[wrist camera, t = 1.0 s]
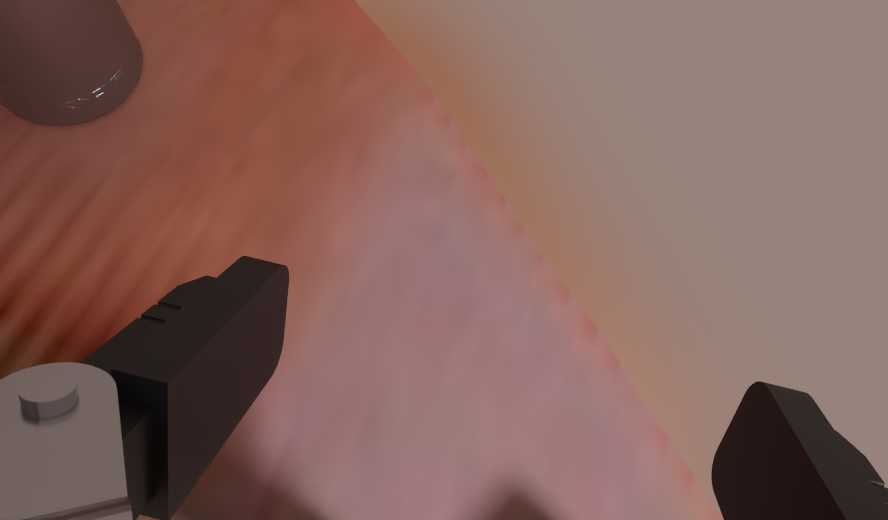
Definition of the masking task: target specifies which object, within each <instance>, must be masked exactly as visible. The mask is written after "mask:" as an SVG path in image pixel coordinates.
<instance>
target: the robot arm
mask: <svg viewBox="0 0 888 520" xmlns="http://www.w3.org/2000/svg"><path fill="white" fill-rule="evenodd" d="M142 58H143V55H142V51H141V47H140V43H139V41H138V39H137V38H136V36H135V34H134V32H133V30H132V28H131V26H130V24H129V23H128V21H127V19H126V17H125V15H124V13H123V11H122V9H121V8H120V6H119V4H118V2H117V0H0V102H1V103H2V104H3V105H4V106H5V107H6V108H8V109H9V110H10V111H12V112H13V113H14V114H16V115H17V116H19V117H22V118H24V119H26V120H28V121H31V122H35V123H40V124H44V125H60V126H63V125H71V124H79V123H82V122H86V121H89V120H92V119H95V118H97V117H99V116H101V115H103V114H105V113H107V112H109V111H111V110H112V109H114V108H115V107H116V106H118V105H119V104H120V103H122V102H123V101H124V99H125V98H126V97H127V96H128V95H129V94H130V93H131V92H132V90H133V88H134V87H135V85H136V83H137V82H138V80H139V77H140V73H141V70H142ZM288 286H289V271H288V268H287V266H285V265H281V264H277V263H273V262H269V261H264V260H260V259H256V258H252V257H248V256H242V257H241V258H239V259H238V260H237V261H236V262H234V263H233V264H232V265H231V266H230V267H229V268H228V269H226V270H225V271H224V272H223V273H222V274H221V275H219V276H218V277H217V278H215V277H210V276H203V277H201V278H198V279H195V280H193V281H190V282H187V283H184V284H182V285H179V286H177V287H176V288H175V289H173V290H172V291H171V292H169V293H168V294H167V295H166V296H164V297H163V298H162V299H161V300H159V301H158V304H157V305H153V306H152V307H151V308H149V309H148V310H147V311H145V312H144V313H143V314H142V316H141V318H137V319H135V320H134V321H133V322H132V323H130V324H129V325H128V326H126V327H125V328H124V329H123V330H121V331H120V332H119V333H118V334H116V335H115V336H114V337H113V338H111V339H110V340H109V341H107V342H106V343H105V344H104V345H102V346H101V347H100V348H99V349H97V350H96V351H95V352H94V353H92V354H91V355H90V356H88V357H87V358H86V359H85V360H83V361H82V362H81V363H66V362H62V363H50V364H44V365H38V366H34V367H30V368H27V369H24V370H21V371H18V372H15V373H13V374H11V375H9V376H6V377H5V378H3V379H1V380H0V520H136V519H137V518H138V516H139V515H140V514H141V515H145V516H148V517H152V518H156V519H159V520H170V519H171V517H172V516H173V515H174V513H175V512H176V510H177V509H178V508H179V506H180V505H181V503H182V502H183V500H184V499H185V498H186V496H187V495H188V493H189V492H190V491H191V489H192V488H193V486H194V485H195V484H196V482H197V481H198V479H199V478H200V477H201V475H202V474H203V472H204V471H205V470H206V468H207V467H208V465H209V464H210V462H211V461H212V460H213V458H214V457H215V455H216V454H217V453H218V451H219V450H220V448H221V447H222V446H223V444H224V443H225V441H226V440H227V439H228V437H229V436H230V434H231V433H232V432H233V430H234V429H235V427H236V426H237V425H238V423H239V422H240V420H241V419H242V417H243V416H244V415H245V413H246V412H247V410H248V409H249V408H250V406H251V405H252V403H253V402H254V401H255V399H256V398H257V396H258V395H259V394H260V392H261V391H262V389H263V388H264V387H265V385H266V384H267V382H268V381H269V380H270V378H271V377H272V375H273V373H274V371H275V369H276V367H277V364H278V361H279V359H280V355H281V351H282V347H283V340H284V329H285V318H286V307H287V296H288ZM884 484H885V483H884V482H883V480H882V479H881V478H880V476H879V475H878V473H877V472H876V470H875V469H874V468H873V466H872V465H871V463H870V462H869V461H868V459H867V458H866V457H865V456H864V455H863V454H862V453H860V452H859V450H857V449H856V448H855V447H854V446H853V445H852V444H851V443H850V442H848V441H847V440H846V439H845V438H844V437H843V436H842V435H840V434H839V433H838V432H837V431H835V430H834V429H833V427H832V426H831V425H830V423H829V422H828V420H827V419H826V417H825V416H824V414H823V413H822V411H821V410H820V409H819V407H818V406H817V404H816V403H815V401H814V400H813V399H812V397H811V396H810V395H809V394H807V393H805V392H801V391H797V390H793V389H789V388H785V387H781V386H776V385H772V384H768V383H764V382H755V383H754V384H752V385H751V386H750V387H749V388H748V390H747V391H746V393H745V395H744V397H743V399H742V401H741V403H740V405H739V407H738V409H737V411H736V413H735V415H734V417H733V419H732V421H731V423H730V425H729V427H728V429H727V431H726V433H725V435H724V437H723V439H722V441H721V443H720V445H719V447H718V449H717V451H716V454H715V457H714V461H713V465H712V485H713V490H714V493H715V496H716V499H717V502H718V504H719V507H720V510H721V513H722V516H723V519H724V520H888V488H884Z"/></svg>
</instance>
